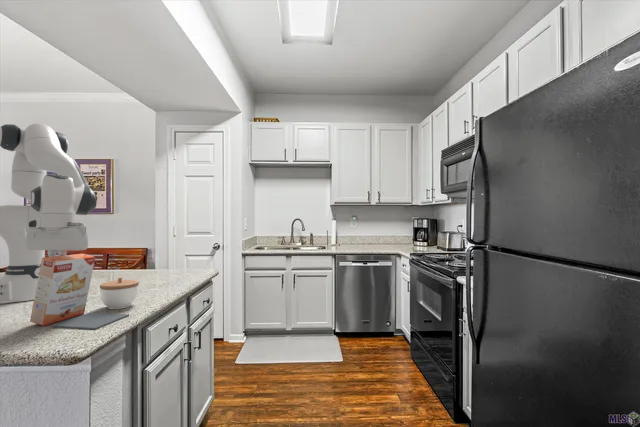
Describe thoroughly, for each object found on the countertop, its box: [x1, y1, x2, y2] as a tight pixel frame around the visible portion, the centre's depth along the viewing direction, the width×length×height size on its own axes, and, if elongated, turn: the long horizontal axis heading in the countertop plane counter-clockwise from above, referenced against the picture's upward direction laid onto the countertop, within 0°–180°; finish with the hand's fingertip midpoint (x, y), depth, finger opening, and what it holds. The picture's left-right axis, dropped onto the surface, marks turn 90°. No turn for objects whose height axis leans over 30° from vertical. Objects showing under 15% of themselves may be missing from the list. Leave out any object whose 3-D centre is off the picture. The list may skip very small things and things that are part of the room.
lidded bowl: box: [99, 277, 140, 310], centre depth 121 cm, size 13×13×11 cm
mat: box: [51, 312, 130, 330], centre depth 104 cm, size 15×14×1 cm
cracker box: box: [29, 253, 96, 327], centre depth 105 cm, size 14×6×21 cm, turn 168°
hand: (57, 263), depth 106 cm, fingers closed
